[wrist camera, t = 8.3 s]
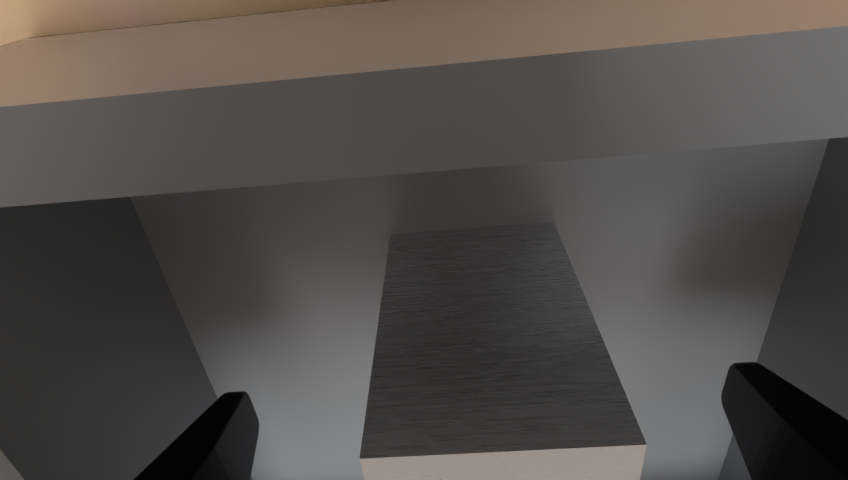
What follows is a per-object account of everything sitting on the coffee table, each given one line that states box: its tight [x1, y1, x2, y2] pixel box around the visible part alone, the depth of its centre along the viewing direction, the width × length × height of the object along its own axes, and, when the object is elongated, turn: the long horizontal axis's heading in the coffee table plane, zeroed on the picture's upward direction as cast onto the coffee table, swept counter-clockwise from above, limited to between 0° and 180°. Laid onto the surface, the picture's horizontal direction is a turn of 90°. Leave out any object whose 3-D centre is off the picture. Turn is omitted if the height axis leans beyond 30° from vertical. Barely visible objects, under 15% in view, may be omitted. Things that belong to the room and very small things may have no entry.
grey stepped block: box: [360, 222, 647, 480], centre depth 11 cm, size 4×8×6 cm, turn 5°
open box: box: [0, 0, 848, 480], centre depth 11 cm, size 16×15×6 cm
